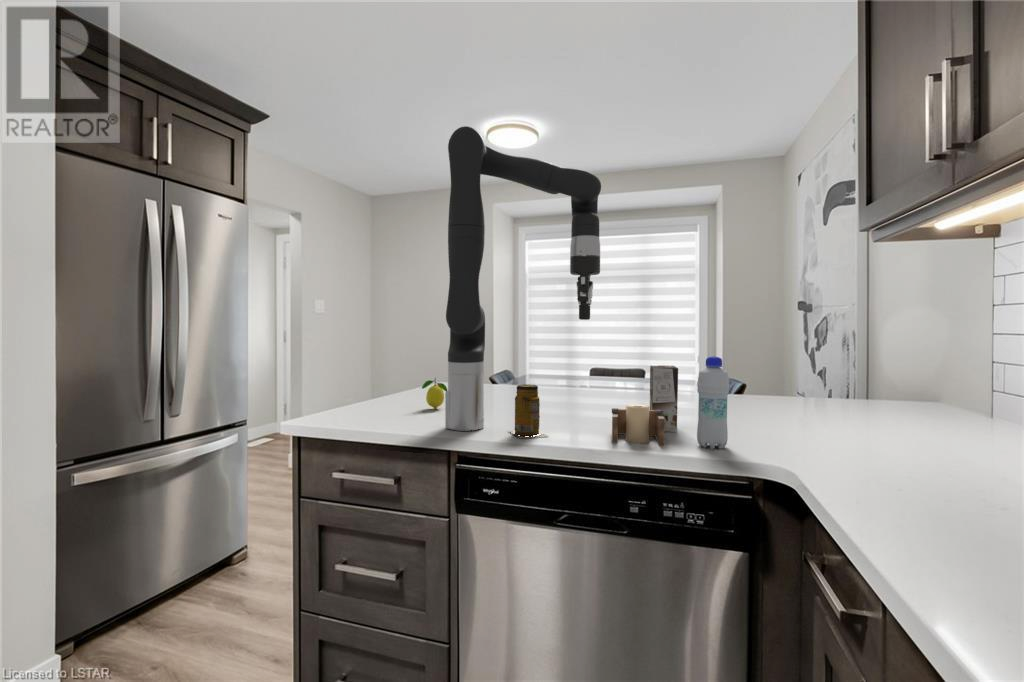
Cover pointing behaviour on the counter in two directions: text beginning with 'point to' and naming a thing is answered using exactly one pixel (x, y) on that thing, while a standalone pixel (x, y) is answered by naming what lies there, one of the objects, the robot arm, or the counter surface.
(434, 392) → the lemon
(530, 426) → the condiment
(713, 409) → the bottle
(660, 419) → the holder
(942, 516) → the counter surface
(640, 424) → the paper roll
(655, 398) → the coffee box
